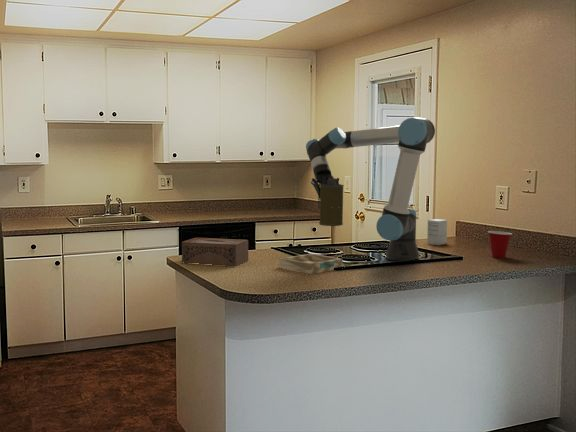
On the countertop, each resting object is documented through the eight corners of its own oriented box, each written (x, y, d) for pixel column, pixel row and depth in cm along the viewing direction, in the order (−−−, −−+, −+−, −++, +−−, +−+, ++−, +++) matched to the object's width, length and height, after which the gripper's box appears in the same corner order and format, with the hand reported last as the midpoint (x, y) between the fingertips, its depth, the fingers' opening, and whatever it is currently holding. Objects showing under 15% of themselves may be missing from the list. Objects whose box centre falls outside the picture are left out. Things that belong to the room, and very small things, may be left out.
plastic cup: (516, 258, 322) (517, 232, 320) (497, 259, 318) (498, 233, 316) (500, 254, 332) (501, 229, 330) (482, 256, 327) (482, 230, 326)
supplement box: (435, 242, 371) (436, 218, 369) (447, 243, 365) (447, 219, 364) (426, 243, 366) (427, 219, 365) (438, 245, 360) (438, 221, 359)
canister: (345, 223, 310) (346, 178, 308) (339, 226, 300) (340, 180, 298) (321, 222, 314) (322, 177, 311) (315, 225, 304) (316, 179, 301)
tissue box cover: (182, 264, 309) (181, 241, 308) (196, 259, 323) (195, 237, 322) (236, 267, 301) (235, 244, 300) (248, 261, 315) (248, 239, 314)
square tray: (311, 262, 312) (311, 253, 312) (344, 268, 298) (344, 258, 297) (277, 267, 299) (277, 258, 298) (310, 274, 284) (310, 264, 284)
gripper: (334, 173, 321) (348, 214, 308) (303, 174, 316) (315, 215, 303) (338, 162, 315) (353, 203, 302) (307, 163, 311) (320, 204, 297)
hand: (334, 209), depth 302 cm, fingers closed on canister, 2 cm apart
